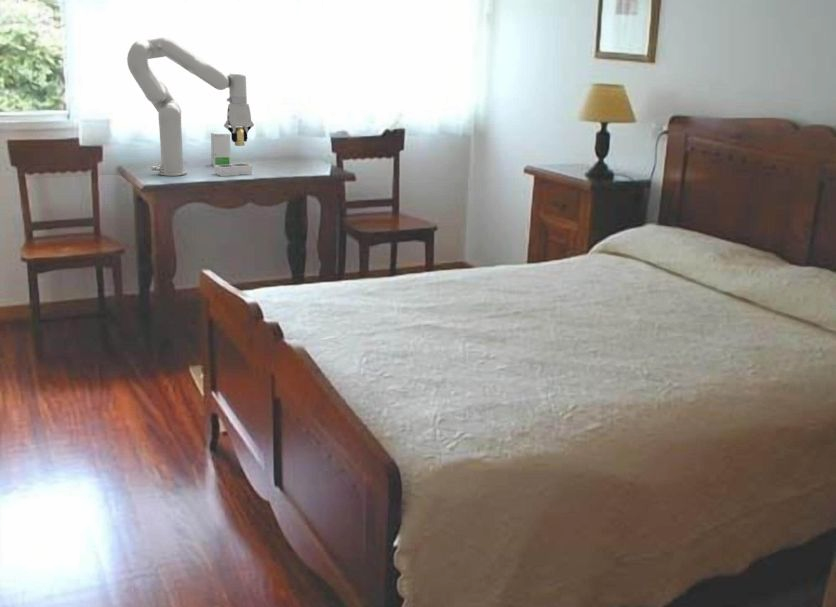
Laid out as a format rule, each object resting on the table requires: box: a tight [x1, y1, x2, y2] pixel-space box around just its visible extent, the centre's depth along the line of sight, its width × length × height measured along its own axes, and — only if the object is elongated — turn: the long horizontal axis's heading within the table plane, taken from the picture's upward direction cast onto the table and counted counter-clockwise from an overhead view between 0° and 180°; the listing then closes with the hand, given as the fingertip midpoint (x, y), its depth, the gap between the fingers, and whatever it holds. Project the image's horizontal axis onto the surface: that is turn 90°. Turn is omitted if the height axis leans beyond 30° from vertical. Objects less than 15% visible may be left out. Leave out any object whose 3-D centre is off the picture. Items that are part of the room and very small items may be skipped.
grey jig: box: [213, 162, 253, 177], centre depth 426 cm, size 15×8×4 cm, turn 124°
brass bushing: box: [234, 126, 246, 147], centre depth 424 cm, size 4×4×8 cm
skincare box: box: [210, 132, 231, 167], centre depth 449 cm, size 8×7×16 cm
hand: (239, 141), depth 424 cm, fingers closed on brass bushing, 4 cm apart
